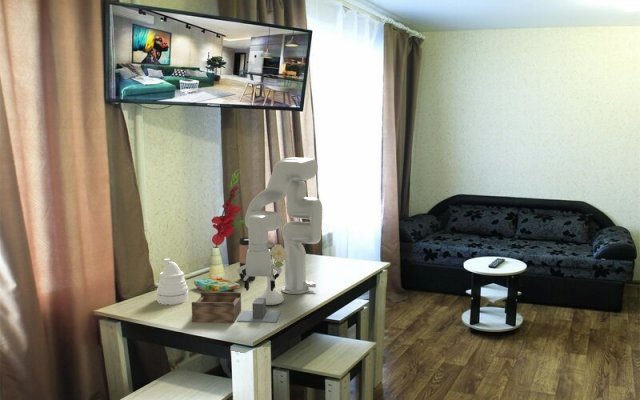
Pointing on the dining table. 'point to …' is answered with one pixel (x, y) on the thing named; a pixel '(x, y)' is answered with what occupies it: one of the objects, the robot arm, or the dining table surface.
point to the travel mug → (244, 255)
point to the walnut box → (217, 307)
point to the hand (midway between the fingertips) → (259, 289)
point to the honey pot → (172, 285)
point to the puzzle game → (216, 284)
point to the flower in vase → (278, 255)
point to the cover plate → (266, 319)
